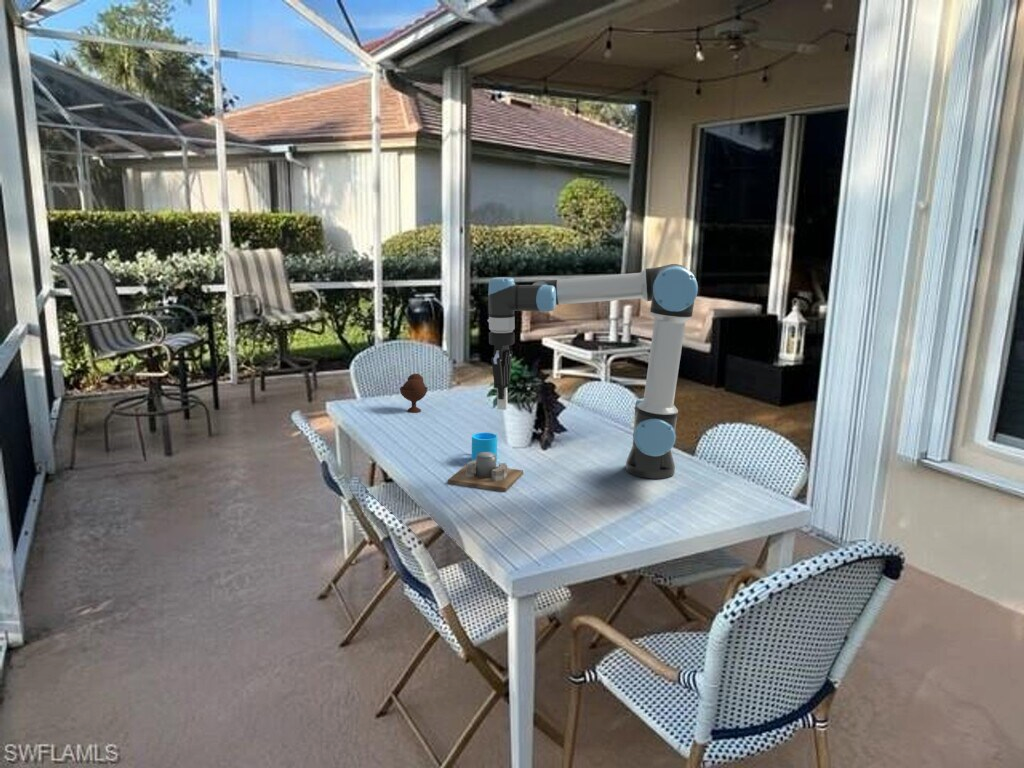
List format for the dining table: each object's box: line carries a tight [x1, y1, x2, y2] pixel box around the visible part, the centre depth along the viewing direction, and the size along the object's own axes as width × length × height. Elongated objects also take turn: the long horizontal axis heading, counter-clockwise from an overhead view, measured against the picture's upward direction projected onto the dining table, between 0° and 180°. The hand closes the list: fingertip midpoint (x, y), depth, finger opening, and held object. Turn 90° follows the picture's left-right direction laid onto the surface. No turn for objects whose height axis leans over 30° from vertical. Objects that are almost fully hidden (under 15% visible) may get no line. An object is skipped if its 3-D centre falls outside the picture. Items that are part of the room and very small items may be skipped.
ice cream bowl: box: [399, 373, 429, 414], centre depth 295 cm, size 11×11×15 cm
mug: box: [471, 432, 498, 463], centre depth 241 cm, size 12×8×8 cm
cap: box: [476, 452, 497, 478], centre depth 223 cm, size 6×6×6 cm
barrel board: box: [447, 460, 524, 493], centre depth 223 cm, size 18×16×4 cm
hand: (502, 408), depth 223 cm, fingers closed
